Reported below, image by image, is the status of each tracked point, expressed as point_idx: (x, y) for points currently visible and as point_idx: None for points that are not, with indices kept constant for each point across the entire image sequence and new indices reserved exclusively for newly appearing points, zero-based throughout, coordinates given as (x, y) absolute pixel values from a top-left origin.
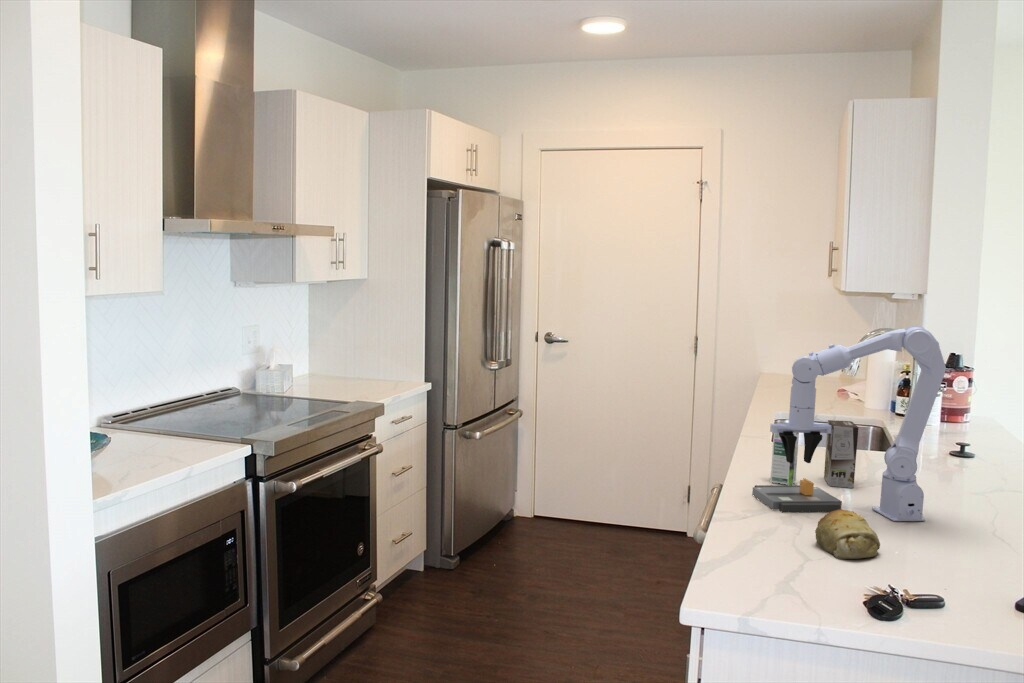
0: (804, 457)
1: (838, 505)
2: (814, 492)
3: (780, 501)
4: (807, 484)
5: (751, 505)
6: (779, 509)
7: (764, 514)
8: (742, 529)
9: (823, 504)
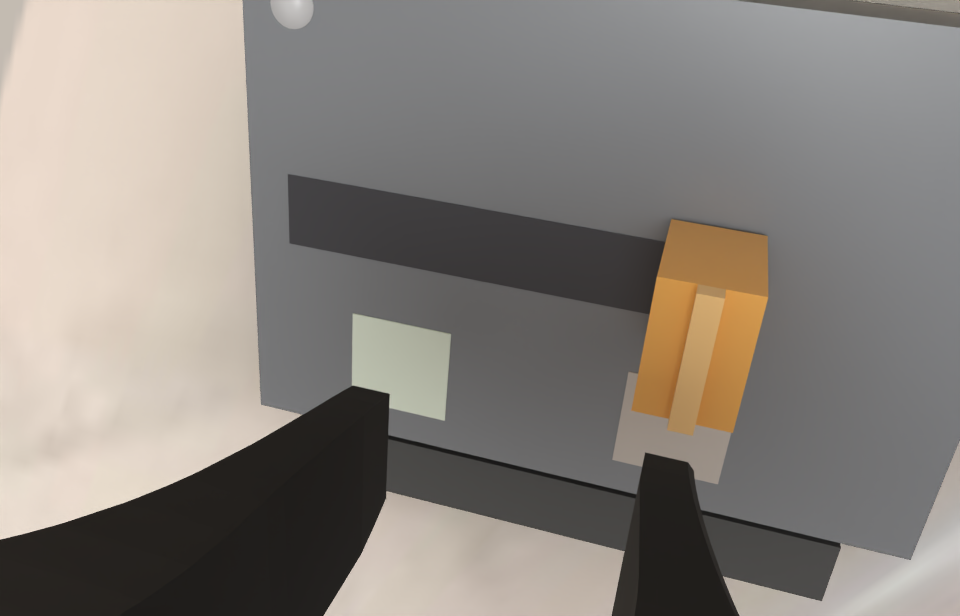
0: (637, 496)
1: (806, 590)
2: (858, 254)
3: None
4: (653, 408)
5: (174, 232)
6: None
7: (199, 431)
8: None
9: None
